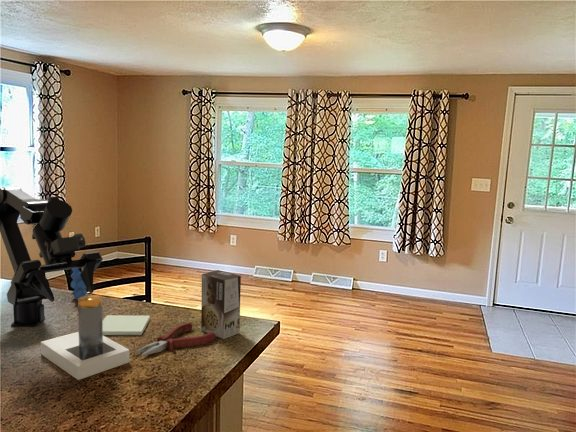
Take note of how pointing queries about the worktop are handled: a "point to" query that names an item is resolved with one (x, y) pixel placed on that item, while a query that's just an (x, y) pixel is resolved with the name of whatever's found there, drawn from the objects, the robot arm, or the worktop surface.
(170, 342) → the pliers
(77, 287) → the grapes
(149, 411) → the worktop surface
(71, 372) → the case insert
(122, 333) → the mat
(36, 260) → the robot arm
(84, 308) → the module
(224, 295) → the coffee box
